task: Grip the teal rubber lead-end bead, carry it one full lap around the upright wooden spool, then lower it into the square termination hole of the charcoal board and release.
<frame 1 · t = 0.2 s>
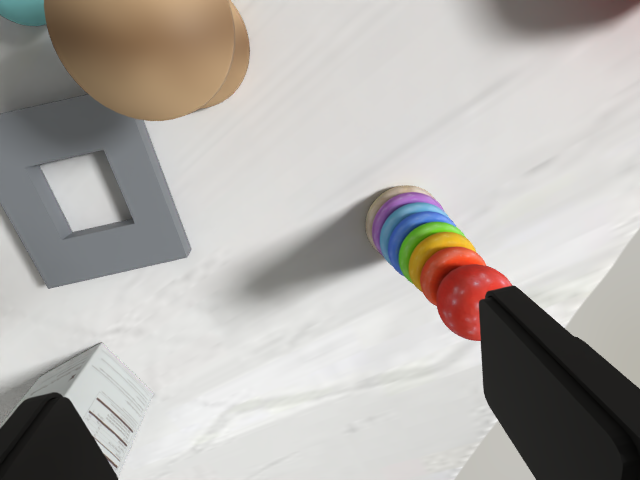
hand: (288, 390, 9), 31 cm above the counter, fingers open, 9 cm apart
spool: (190, 46, 33), on the counter
stacking toy: (400, 219, 41), on the counter
supplement box: (98, 383, 45), on the counter
notch board: (92, 190, 37), on the counter
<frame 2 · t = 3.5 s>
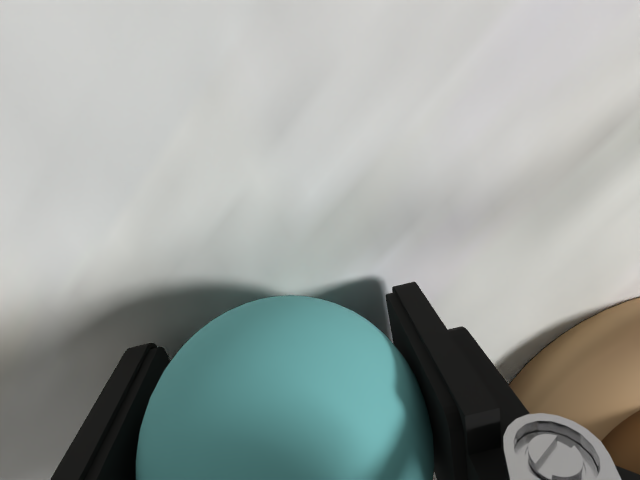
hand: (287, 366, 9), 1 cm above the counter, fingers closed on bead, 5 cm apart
spool: (632, 424, 12), on the counter
bead: (287, 347, 10), on the counter, touching gripper
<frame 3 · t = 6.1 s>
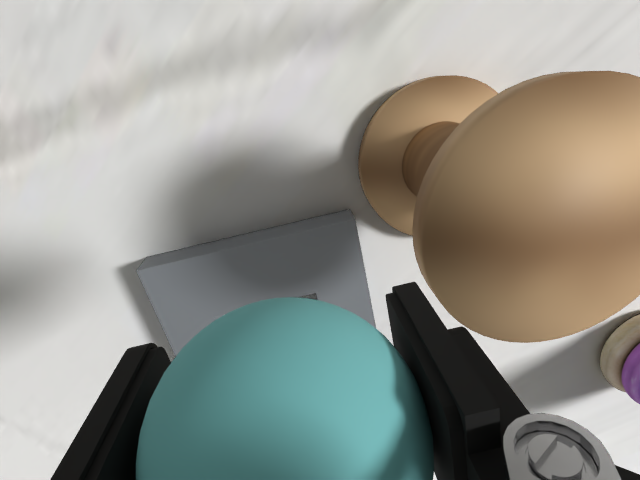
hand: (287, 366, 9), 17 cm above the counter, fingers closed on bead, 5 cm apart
spool: (434, 159, 25), on the counter
stacking toy: (637, 344, 33), on the counter
bead: (287, 349, 10), point 16 cm above the counter, touching gripper
notch board: (278, 329, 29), on the counter
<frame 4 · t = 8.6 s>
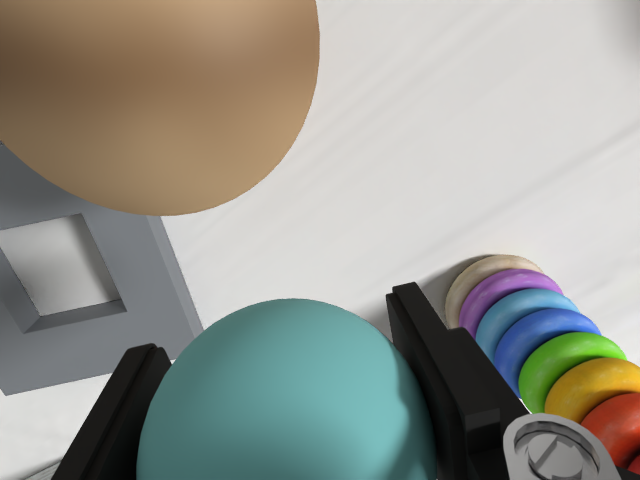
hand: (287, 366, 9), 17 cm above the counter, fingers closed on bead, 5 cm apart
spool: (212, 61, 22), on the counter
stacking toy: (488, 295, 30), on the counter
bead: (289, 350, 10), point 16 cm above the counter, touching gripper
notch board: (66, 262, 26), on the counter
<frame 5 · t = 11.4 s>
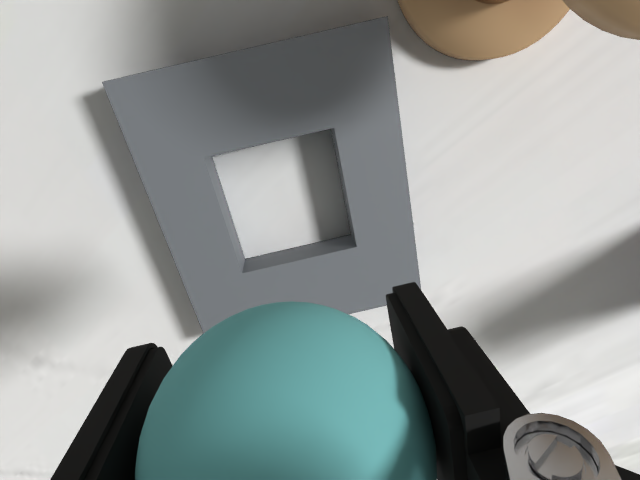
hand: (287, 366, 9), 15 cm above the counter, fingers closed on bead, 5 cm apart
bead: (288, 352, 10), point 14 cm above the counter, touching gripper
notch board: (285, 195, 23), on the counter
when the fingers open (3 cm above the counter, at t = 13.9 s): bead drops 2 cm, resting in notch board.
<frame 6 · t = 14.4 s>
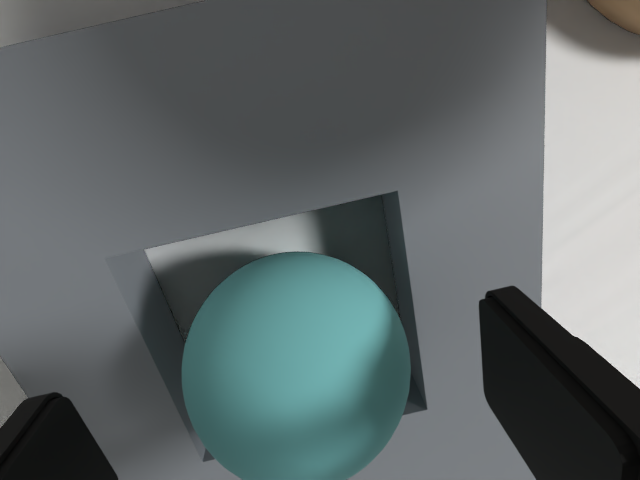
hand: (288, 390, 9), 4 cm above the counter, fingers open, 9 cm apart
bead: (286, 305, 12), resting in notch board, tilted 6°
notch board: (286, 304, 12), on the counter
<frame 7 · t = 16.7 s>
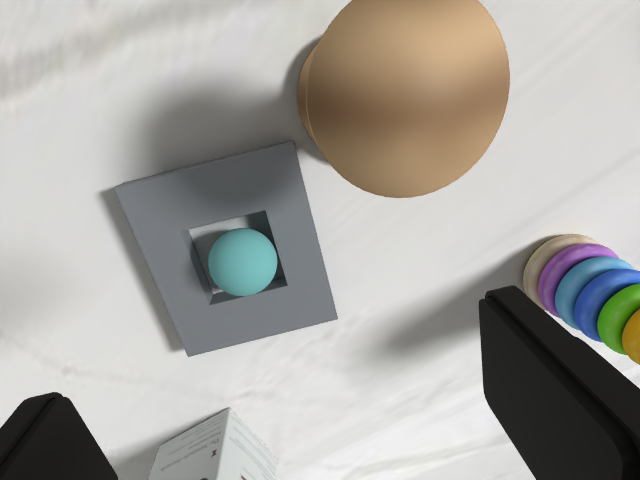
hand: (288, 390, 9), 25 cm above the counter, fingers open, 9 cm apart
spool: (360, 96, 30), on the counter
stacking toy: (556, 268, 38), on the counter
bead: (238, 251, 34), resting in notch board, tilted 14°
supplement box: (219, 450, 42), on the counter
notch board: (238, 250, 34), on the counter
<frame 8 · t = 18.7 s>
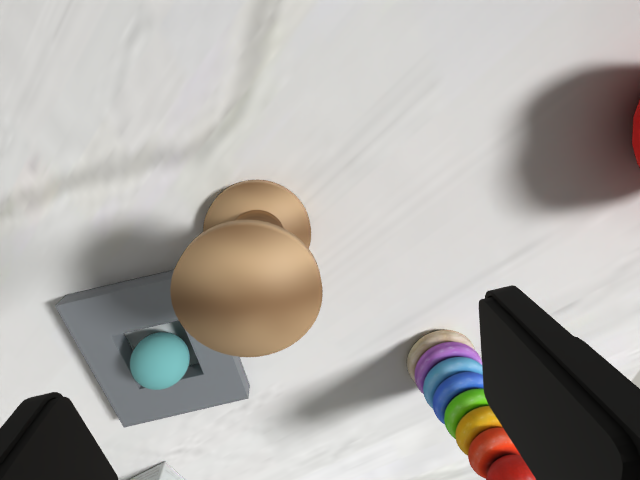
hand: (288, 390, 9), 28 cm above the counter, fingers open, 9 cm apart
spool: (258, 230, 37), on the counter
stacking toy: (437, 354, 45), on the counter
bead: (164, 343, 41), resting in notch board, tilted 8°
notch board: (164, 343, 41), on the counter
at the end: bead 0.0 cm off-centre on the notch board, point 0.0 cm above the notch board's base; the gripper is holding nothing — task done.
